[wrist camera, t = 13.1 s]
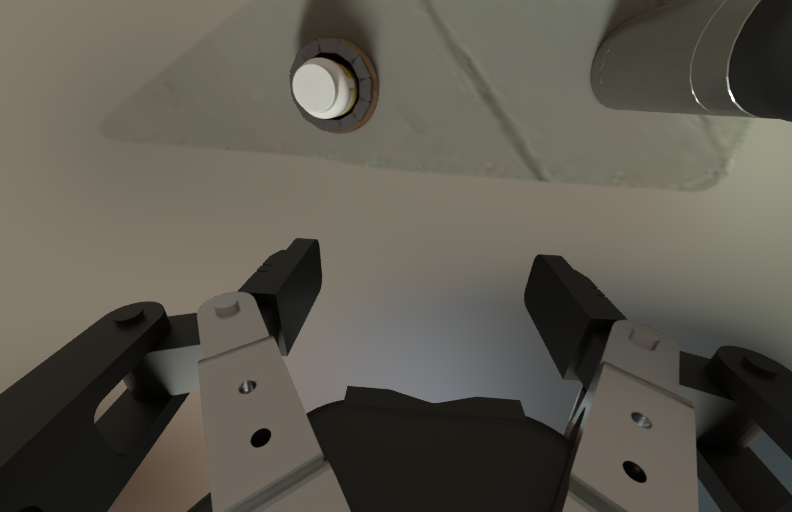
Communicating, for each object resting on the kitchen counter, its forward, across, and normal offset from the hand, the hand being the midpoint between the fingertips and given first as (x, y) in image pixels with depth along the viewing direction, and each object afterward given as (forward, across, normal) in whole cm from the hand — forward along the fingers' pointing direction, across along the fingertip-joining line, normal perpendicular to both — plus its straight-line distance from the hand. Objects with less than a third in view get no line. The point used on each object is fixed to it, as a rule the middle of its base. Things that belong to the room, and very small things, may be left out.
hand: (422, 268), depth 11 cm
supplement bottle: (+31, +10, -6) cm, 33 cm away
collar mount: (+32, +10, -6) cm, 34 cm away
